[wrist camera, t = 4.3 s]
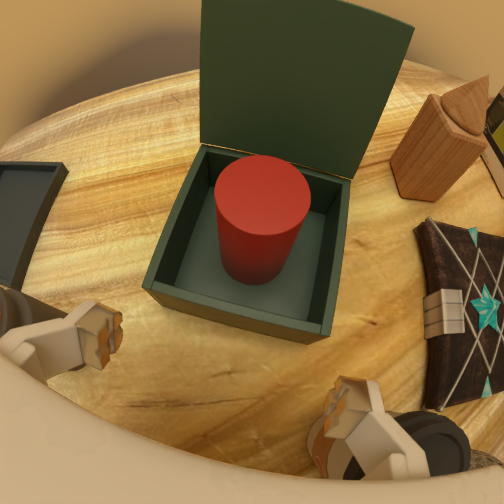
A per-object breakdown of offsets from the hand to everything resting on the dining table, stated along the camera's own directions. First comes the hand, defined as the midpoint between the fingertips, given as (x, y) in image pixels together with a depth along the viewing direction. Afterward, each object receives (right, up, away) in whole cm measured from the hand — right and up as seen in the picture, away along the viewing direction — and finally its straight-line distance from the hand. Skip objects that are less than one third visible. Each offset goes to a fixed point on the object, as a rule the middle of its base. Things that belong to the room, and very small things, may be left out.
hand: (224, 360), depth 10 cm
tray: (-33, +8, +20) cm, 39 cm away
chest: (+1, +3, +20) cm, 20 cm away
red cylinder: (+1, +4, +19) cm, 20 cm away
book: (+28, -4, +19) cm, 34 cm away
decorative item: (+23, +13, +26) cm, 37 cm away
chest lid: (+4, +16, +10) cm, 19 cm away
